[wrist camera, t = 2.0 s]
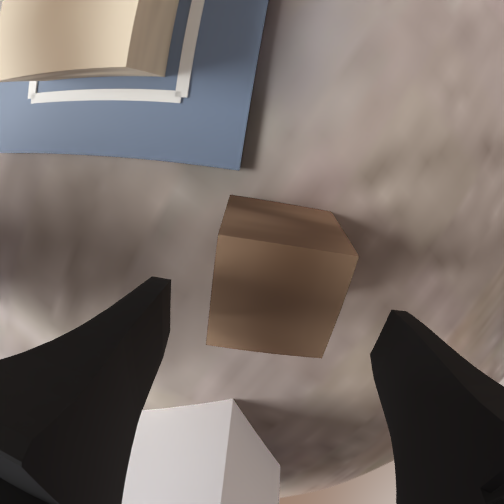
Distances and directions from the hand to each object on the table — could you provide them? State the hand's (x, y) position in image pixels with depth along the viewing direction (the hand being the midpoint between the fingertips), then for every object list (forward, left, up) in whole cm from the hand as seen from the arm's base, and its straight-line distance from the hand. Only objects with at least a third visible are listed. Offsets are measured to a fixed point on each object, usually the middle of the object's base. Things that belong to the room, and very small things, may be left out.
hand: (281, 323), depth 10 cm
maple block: (-9, +10, -5) cm, 14 cm away
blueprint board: (-9, +10, -5) cm, 14 cm away
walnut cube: (0, 0, -6) cm, 6 cm away
